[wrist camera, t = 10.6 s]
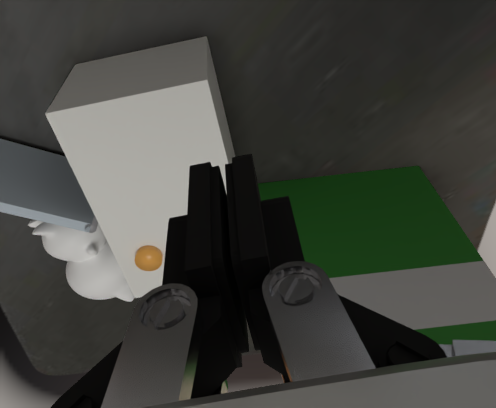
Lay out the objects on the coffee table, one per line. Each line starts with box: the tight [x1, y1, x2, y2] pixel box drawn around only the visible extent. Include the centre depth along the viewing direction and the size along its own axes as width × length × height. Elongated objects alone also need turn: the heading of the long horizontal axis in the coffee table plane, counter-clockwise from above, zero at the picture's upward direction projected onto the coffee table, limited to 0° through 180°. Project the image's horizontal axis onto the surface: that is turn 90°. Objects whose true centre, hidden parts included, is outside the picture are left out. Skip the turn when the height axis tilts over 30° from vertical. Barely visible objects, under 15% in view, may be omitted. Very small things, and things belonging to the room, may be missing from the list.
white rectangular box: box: [45, 36, 235, 298], centre depth 44 cm, size 22×12×11 cm, turn 11°
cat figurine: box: [28, 219, 134, 302], centre depth 51 cm, size 9×11×12 cm
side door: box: [0, 139, 98, 233], centre depth 42 cm, size 16×3×9 cm, turn 68°
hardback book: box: [258, 166, 496, 345], centre depth 44 cm, size 18×7×24 cm, turn 95°
